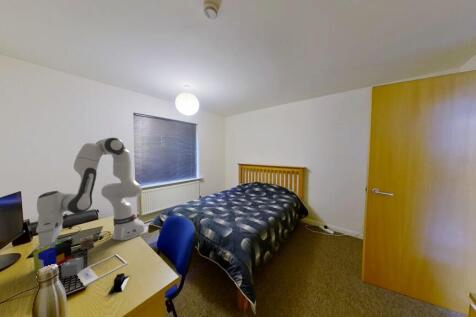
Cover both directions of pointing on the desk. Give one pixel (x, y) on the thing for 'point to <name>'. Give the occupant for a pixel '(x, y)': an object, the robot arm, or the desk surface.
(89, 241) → the walnut block
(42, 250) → the puzzle toy
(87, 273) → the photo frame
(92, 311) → the desk surface
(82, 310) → the desk surface
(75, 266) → the grey block
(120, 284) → the black irregular block
